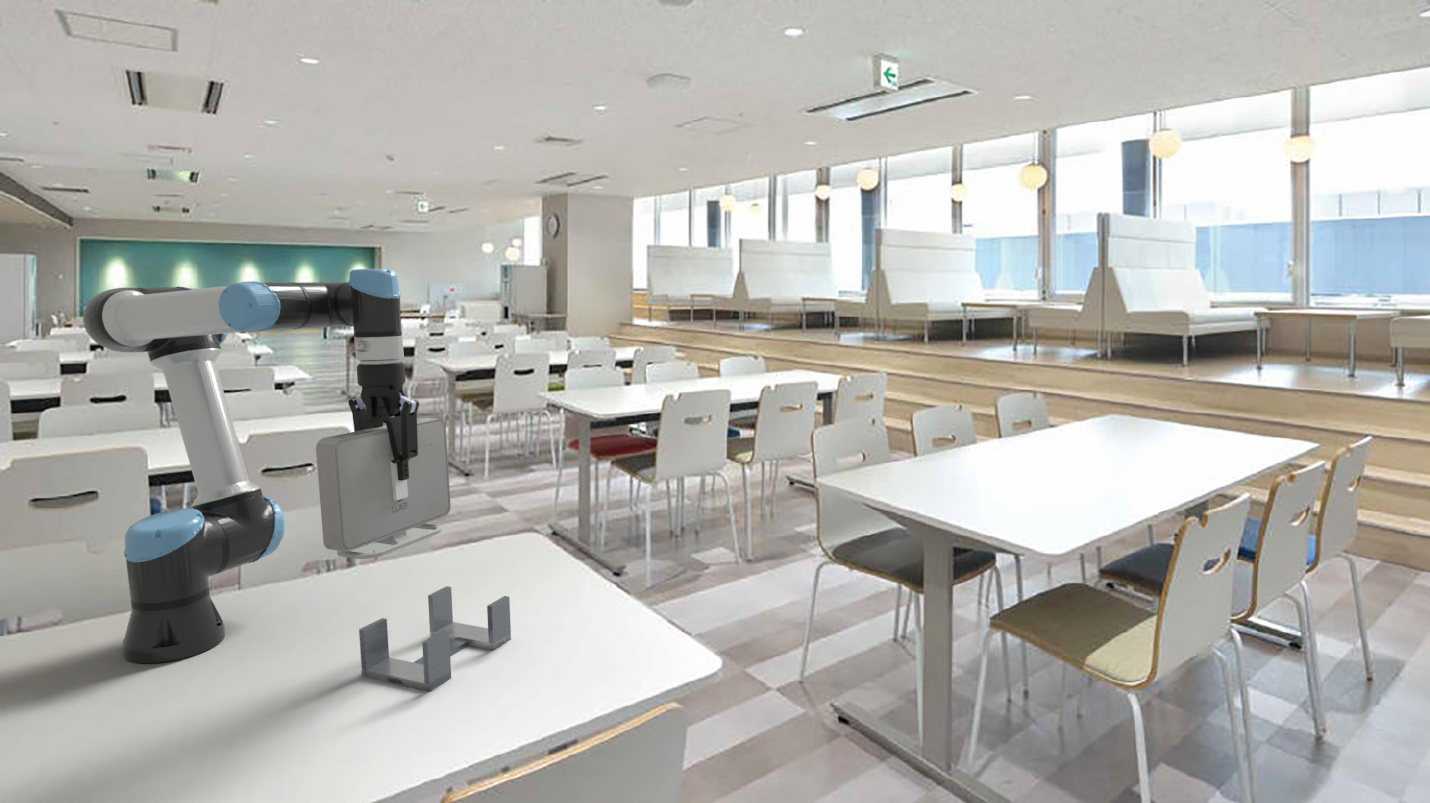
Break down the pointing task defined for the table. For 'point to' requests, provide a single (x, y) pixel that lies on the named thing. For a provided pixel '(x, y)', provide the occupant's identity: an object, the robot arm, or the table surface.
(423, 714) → the table surface
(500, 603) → the stand
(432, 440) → the network device
